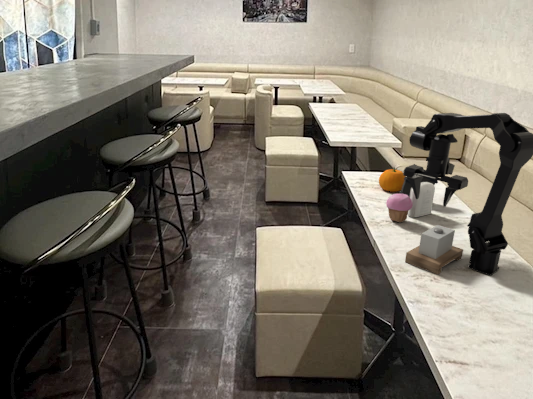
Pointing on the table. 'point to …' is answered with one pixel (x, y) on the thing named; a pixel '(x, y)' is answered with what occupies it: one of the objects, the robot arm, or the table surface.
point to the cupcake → (399, 206)
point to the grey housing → (436, 241)
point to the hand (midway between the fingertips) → (430, 202)
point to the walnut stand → (432, 259)
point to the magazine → (407, 186)
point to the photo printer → (422, 200)
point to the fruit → (391, 180)
